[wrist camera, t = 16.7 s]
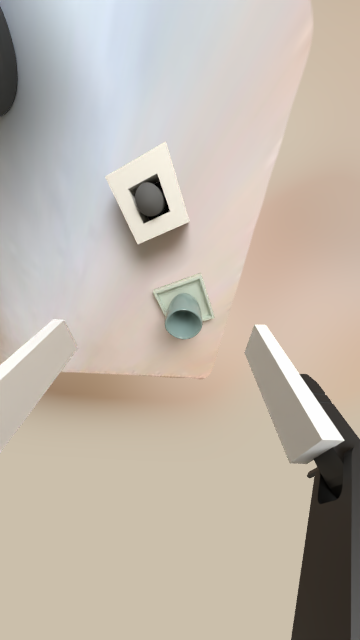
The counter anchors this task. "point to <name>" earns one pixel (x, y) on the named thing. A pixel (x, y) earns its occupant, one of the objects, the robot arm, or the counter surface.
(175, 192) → the housing
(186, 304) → the cup
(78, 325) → the counter surface
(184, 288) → the tray
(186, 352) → the counter surface
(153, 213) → the grey oval solid
